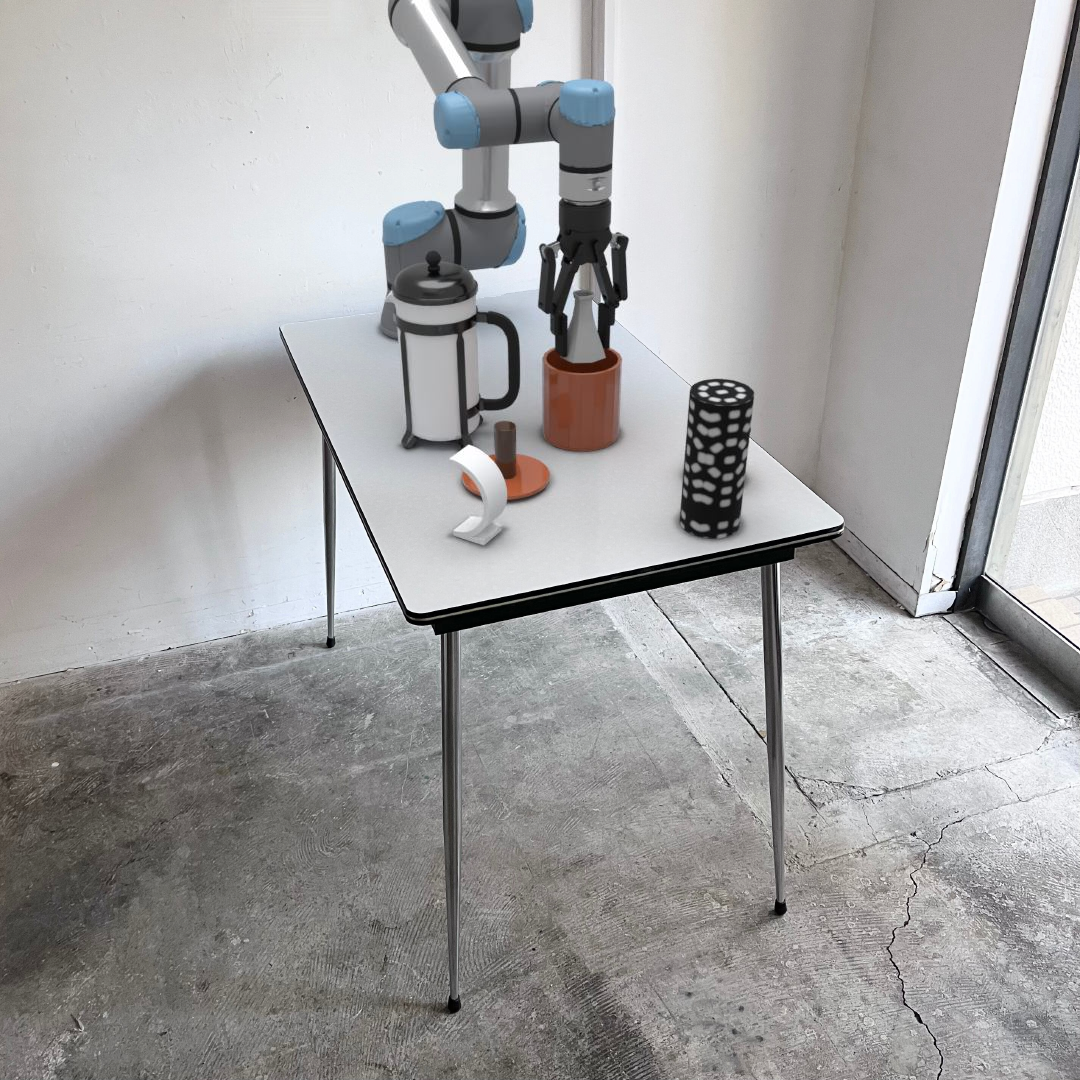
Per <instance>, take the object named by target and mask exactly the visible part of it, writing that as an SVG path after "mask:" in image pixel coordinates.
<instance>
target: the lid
mask: <svg viewBox="0 0 1080 1080" xmlns="http://www.w3.org/2000/svg"><path fill="white" fill-rule="evenodd" d="M493 445H494V446H493V448H494V450H493V451H494V454H487V455H488V456H489V457H490V458H491V459H492V460H493V461H494V463H495V464H496V465H497V467H498V468H499V470H500V471H501V473H502V475H503V477H504V480H505V483H506V488H507V501H509V500H518V499H524V498H528V497H530V496H533V495H535V494H537V493H539V492H542V491H543V490H544V489H545V488H546V487H547V486H548V484H549V482H550V477H551V476H550V474H551V472H550V470H549V468H548V466H547V465H546V464H545V463H544V462H542V461H541V460H540V459H537V458H536V457H532V456H529V455H526V454H520V453H517V425H516V423H515V422H514V421H509V420H501V421H497V422H495V423H494V425H493ZM461 480H462V483H463V486H464V487H465V488H466V489H467V490H468V491H470V492H471V493H473V494H474V495H476V496H479V497H482V496H481V494H480V491H479V489H478V488H477V486H476V484H475V483H474V481H473V480H472V479H471V478H470V477H469V476H468V475H467V474H466V473H465V472H464V471H462V474H461Z"/></svg>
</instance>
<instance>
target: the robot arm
mask: <svg viewBox="0 0 1080 1080" xmlns="http://www.w3.org/2000/svg"><path fill="white" fill-rule="evenodd" d="M387 17H388V21H389V25H390V28H391V29H392V31H393V33H394V36H395V37H396V39H397V40H398V42H400V44H401V45H403V46H404V47H406V48H407V49H409V50H410V52H411V53H412V55H413V58H414V59H415V61H416V63H417V65H418V67H419V68H420V70H421V72H422V74H423V76H424V78H425V79H426V81H427V84H428V85H429V87H430V89H431V91H432V92H433V94H434V97H435V99H434V103H433V125H434V130H435V133H436V138H437V141H438V143H439V144H440V146H441V147H443V148H444V149H446V150H461V170H462V171H461V175H462V176H461V182H462V183H461V184H462V185H461V189H460V190H459V191H457V192H456V193H455V195H454V199H453V205H454V206H453V208H445V207H444V205H443V204H442V202H440V201H436V200H427V201H425V200H417V201H411V202H407V203H403V204H400V205H397V206H395V207H394V208H392V209H390V210H389V211H388V212H387V213H385V215H384V216H383V220H382V237H381V241H382V244H383V252H384V255H383V256H384V266H385V277H386V295H385V299H386V297H387V296H388V294H389V293H390V292H391V291H392V284H393V283H394V282H395V280H396V277H397V275H398V274H399V273H400V272H401V271H402V270H404V269H405V268H407V267H409V266H411V265H414V264H418V263H422V262H427V261H426V260H425V258H426V255H427V253H428V252H430V251H437V252H438V253H439V254H440V256H441V261H442V262H450V263H454V264H458V265H460V266H462V267H464V268H466V269H467V270H469V271H470V272H471V271H478V270H487V269H494V270H495V269H499V268H502V267H507V266H513V265H514V264H516V263H517V262H518V261H519V260H520V259H521V257H522V256H523V253H524V251H525V246H526V240H527V225H526V222H527V221H526V220H527V219H526V213H525V210H524V208H523V206H522V204H520V203H519V202H517V198H516V195H515V194H514V193H512V192H511V190H510V189H509V176H510V175H509V174H510V170H509V169H510V145H524V144H536V143H537V144H539V143H549V142H555V143H557V144H558V196H559V197H560V200H559V201H558V227H559V229H558V230H559V232H558V235H557V237H556V240H554V241H552V242H550V243H548V244H546V243H544V242H543V243H540V244H539V246H538V250H539V255H540V258H541V262H540V276H539V287H538V299H537V307H538V309H539V310H541V311H542V312H543V313H544V314H546V315H549V318H550V319H549V331H550V333H551V334H552V335H553V336H554V347H555V352H557V353H558V354H559V355H560V356H562V357H567V330H568V327H569V325H568V323H569V322H568V321H569V316H568V315H567V314H566V313H565V312H564V311H565V308H566V305H567V301H568V298H569V295H570V292H571V289H572V285H573V283H574V279H575V276H576V274H577V273H578V272H579V270H580V266H584V265H586V264H591V266H592V269H593V272H594V275H595V278H596V283H597V285H598V290H599V292H600V295H601V298H602V301H603V302H598V303H597V331H598V334H599V337H600V340H601V343H602V346H603V348H604V349H610V348H611V347H610V346H611V327H613V326H615V323H616V309H618V308H619V307H620V305H621V303H620V302H622V301H623V302H625V301H626V300H628V297H629V292H628V272H627V270H628V269H627V268H628V267H627V250H628V245H629V242H630V238H629V237H628V236H627V235H624V233H622V232H619V231H616V232H615V233H614V232H612V231H611V228H610V226H611V223H612V201H611V199H610V197H612V194H613V193H612V191H613V190H612V189H613V188H612V187H613V158H614V155H613V154H614V134H615V118H616V106H615V90H614V87H613V85H612V84H611V83H609V82H608V81H605V80H599V79H594V78H593V79H592V78H580V79H579V78H578V79H571V80H567V81H565V82H564V81H560V80H551V79H550V80H544V81H541V82H540V83H538V84H536V86H525V87H524V86H523V87H513V88H512V87H511V86H512V85H511V84H512V83H511V82H512V77H511V76H512V57H513V55H514V54H515V53H516V52H517V51H518V50H519V49H520V48H521V34H524V35H525V34H526V33H528V32H530V31H531V29H532V27H533V25H532V24H533V23H534V1H533V0H388V3H387ZM609 245H610V256H611V276H612V277H611V276H610V273H609V269H608V262H607V259H606V254H605V252H606V250H607V248H608V247H609ZM559 251H560V252H561V253H562V257H561V261H560V269H559V273H558V276H557V279H556V272H557V259H558V257H559ZM611 278H612V279H611ZM385 299H384V300H385ZM395 308H396V307H395V304H394V303H392V302H385V301H384V302H383V306H382V310H381V315H380V329H381V332H382V333H383V334H384V335H385V336H387V337H389V338H391V339H394V340H398V330H397V326H396V323H395Z"/></svg>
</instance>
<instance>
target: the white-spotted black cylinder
mask: <svg viewBox="0 0 1080 1080" xmlns="http://www.w3.org/2000/svg"><path fill="white" fill-rule="evenodd" d="M688 395H689V397H688V409H687V420H686V435H685V447H684V448H685V449H684V460H683V473H682V484H681V485H682V486H681V498H680V511H679V525H680V526H681V528H682V529H683V530H684V531H685V532H687V533H688V534H690V535H693V536H695V537H698V538H703V539H710V540H711V539H712V540H713V539H714V540H715V539H723V538H728V537H731V536H733V535H734V534H736V533H737V532H738V530H739V529H740V526H741V517H742V516H741V514H742V508H743V507H742V506H743V498H744V488H745V481H746V474H747V473H746V471H747V462H748V455H749V446H750V439H751V438H750V437H751V432H750V429H751V430H752V420H753V410H754V401H755V391H754V389H753V388H752V387H751V386H749V385H747V384H746V383H743V382H742V381H738V380H735V379H729V378H708V379H703V380H700V381H697V382H695V383H694V384H692V385H691V386H690V388H689V394H688Z"/></svg>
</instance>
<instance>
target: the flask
mask: <svg viewBox="0 0 1080 1080" xmlns="http://www.w3.org/2000/svg"><path fill="white" fill-rule="evenodd" d="M572 296H573V298H574V307H573V311H572V316H571V319H570V322H569V325H568V328H567V357H562V356H561V358H563V359H565V360H567V361H570V362H572V363H592V362H595V361H598V360H601V359H604V358H606V357H605V353H604V350H603V346H602V343H601V340H600V337H599V334H598V331H597V330H598V327H597V324H596V321H595V318H594V312H593V299H594V298H595V293H594V291H592V290H590V289H577V290H575V291H572Z"/></svg>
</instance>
